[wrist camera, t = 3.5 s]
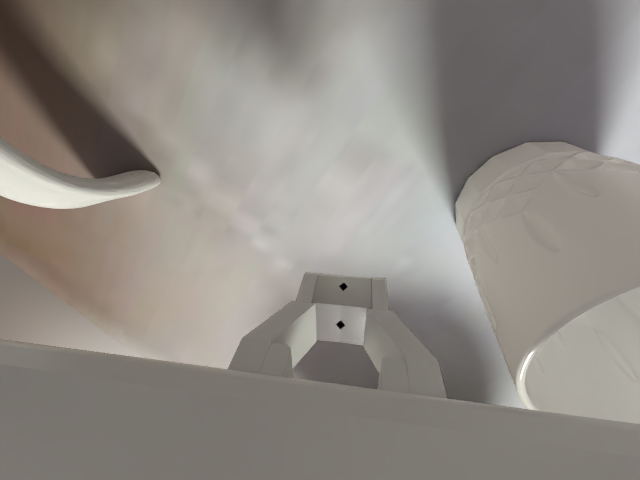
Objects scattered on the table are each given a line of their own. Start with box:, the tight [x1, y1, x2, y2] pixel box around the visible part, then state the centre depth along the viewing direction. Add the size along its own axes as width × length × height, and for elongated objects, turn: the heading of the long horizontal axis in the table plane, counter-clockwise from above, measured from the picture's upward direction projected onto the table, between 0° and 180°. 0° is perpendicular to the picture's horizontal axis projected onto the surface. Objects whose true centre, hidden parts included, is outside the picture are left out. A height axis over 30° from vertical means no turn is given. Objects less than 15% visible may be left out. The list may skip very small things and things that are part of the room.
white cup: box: [455, 142, 640, 424], centre depth 11 cm, size 8×8×10 cm
